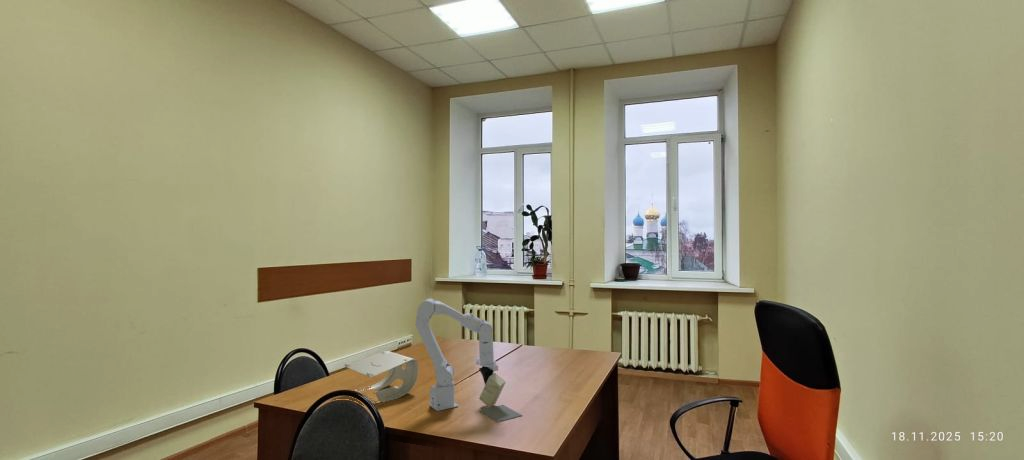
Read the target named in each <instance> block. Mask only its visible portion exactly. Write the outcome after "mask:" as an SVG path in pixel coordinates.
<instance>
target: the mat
mask: <svg viewBox="0 0 1024 460" xmlns="http://www.w3.org/2000/svg"><path fill="white" fill-rule="evenodd" d="M479 412H480V413H482V414H483V415H485V416H487V417H489V418H490V419H492V420H493V421H495V422H497V423H500V422H503V421H508V420H512V419H516V418H519V417H522V416H523V415H522V414H521V413H519V412H517V411H515V410H513V409H512V408H510V407H508V406H506V405H504V404H500V405H496V406H495V405H494V406H492V407H491V408H489V407H486V408H484V409H479Z"/></svg>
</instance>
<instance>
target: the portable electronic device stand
mask: <svg viewBox="0 0 1024 460" xmlns="http://www.w3.org/2000/svg"><path fill="white" fill-rule="evenodd" d="M403 364H405V368H404V367H403V366H404V365H403ZM344 367H345V368H346V369H349V370H351V371H354V372H357V373H359V374H361V375H364V376H366V377H368V378H373V377H376V376H378V375H380V374H381V375H382V374H383V373H385V372H387V374H386V375H385V376H384V378H383V379H382V380H381V379H380V380H379V381H378V382H377V383H375V384H371V385H370V386H371V388H369V389H367V390H370V389H375V391H377V390H378V392H376V393H374V392H373V393H374V394H376V396H377V398H378V401H380V402H383V403H386V401H387V402H391V401H393V400H394V399H395V400H397V399H399V398H401V397H403V396H405V395H406V394H409V392H410V391H411V390H412V389H413V388H414V386H415V385H416V383H417V381H418V376H419V362H418V360H417V359H415V358H412V357H410V356H406V355H403V354H399V353H396V352H393V351H390V350H383V351H381V352H378V353H376V354H373V355H371V356H367V357H364V358H362V359H359V360H356V361H354V362H350V363H344ZM397 379H399V380H402V381H403V382H402V384H401V385H399V386H400V387H397V386H398V385H395V386H390V387H388V386H389V385H391V384H392V383H394V382H395V380H397ZM370 386H368V387H370ZM354 390H355V391H357V389H354ZM361 391H362V390H361ZM363 391H364V389H363ZM359 392H360V391H359ZM365 392H366V391H365ZM365 392H364V393H365ZM361 393H362V392H361ZM362 394H363V393H362ZM365 394H366V393H365ZM365 394H364V395H365ZM365 396H367V395H365ZM367 397H368V396H367ZM369 399H370V398H369ZM371 399H372V398H371ZM371 399H370V400H371ZM390 400H391V401H390ZM371 401H372V400H371ZM373 401H374V400H373ZM373 401H372V402H373ZM374 402H375V403H376V402H377V401H374Z"/></svg>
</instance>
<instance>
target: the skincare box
mask: <svg viewBox="0 0 1024 460" xmlns="http://www.w3.org/2000/svg"><path fill="white" fill-rule="evenodd" d="M506 383H507V382H506V380H504V379H503V378H502V377H501V376H500V375H498V374H497V373H496V372H493V374H492V375H491V376H489V378H488V380H487V382H486V384H485V383H484V387H483V389H482V392H481V394H480V396H479V398H478V399H479V401H481V403H483V404H484V405H485V406H487V408H491V407H494V406H495V405H496V404H497V401H498V399H499V397H500V395H501V393H502V391H503V389H504V387H505V384H506Z"/></svg>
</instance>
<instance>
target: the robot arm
mask: <svg viewBox="0 0 1024 460" xmlns="http://www.w3.org/2000/svg"><path fill="white" fill-rule="evenodd" d="M442 314H443V315H444V316H445V315H446V316H447V317H449V318H452V319H454V320H456V321H458V322H460V324H461V326H462V327H464V328H466V329H468V330H470V331H472V332H474V333H477V334H478V337H479V340H478V348H479V349H478V350H479V353H478V354H479V358H478V359H476V360H475V363H476V365H479V366H480V367H479V368H478V369H479V372H480V374H481V375H482V380H483V382H484V385H485V384H486V382H487V380H488V378H489V376H491V375H492V374H493V373H495V372H496V371H497V372H498V371H499V365H498V364H497V361H496V360H495V359H494V357H495V356H494V339H493V325H492V323H491V322H489V320H485V319H484V318H482V319H481V318H479V317H478V316H475V314H474V313H473V312H471V313H468V312H467V313H464V314H463V313H462V312H460V311H459V310H457V309H456V308H453V307H451V306H449V305H447V304H446V303H443V302H442V301H439V300H435V299H434V298H430V297H429V298H426V299H425V300H424V301H421V302H420V304H419V306H418V307H417V309H416V318H415V319H416V320H415V327H416V330H417V332H418V334H419V336H420V338H421V340H422V342H423V345H424V347H425V349H426V351H427V354H428V355H429V357H430V360H431V361H432V364H433V371H434V373H435V380H436V384H435V385H433V386H430V389H429V407H431V408H432V409H434V410H435V411H436V412H440V411H443V410H448V409H452V408H457V407H459V404H457V403H455V381H454V380H453V377H454V375H455V368H454V367H453V366H452V365H451V364H450V363H449V362H448V360H447V359H446V358H445V356H444V354H443V352H442V350H441V347H440V346H439V343H438V340H437V339H436V337H435V335H434V334H435V333H433V330H432V328H431V326H430V321H431V318H432V316H433V315H442Z"/></svg>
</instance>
